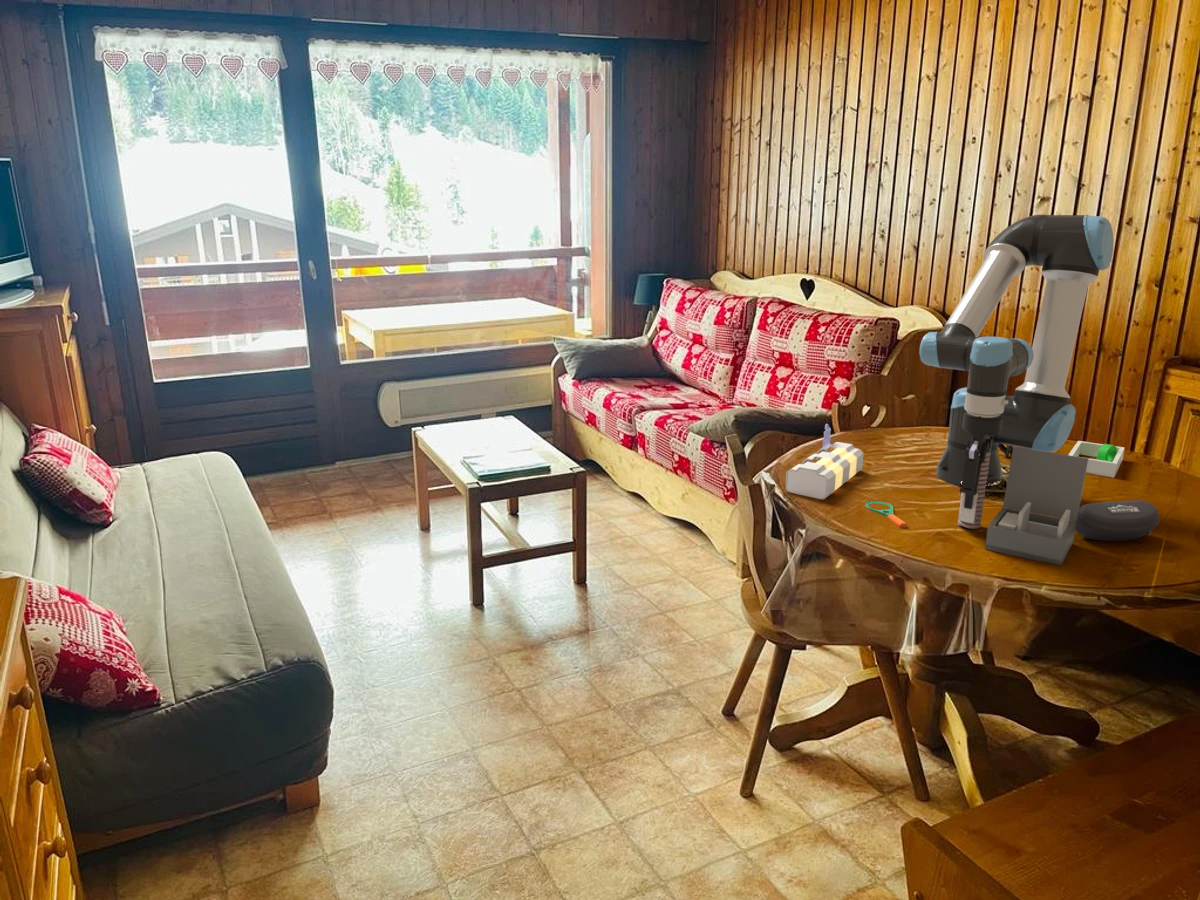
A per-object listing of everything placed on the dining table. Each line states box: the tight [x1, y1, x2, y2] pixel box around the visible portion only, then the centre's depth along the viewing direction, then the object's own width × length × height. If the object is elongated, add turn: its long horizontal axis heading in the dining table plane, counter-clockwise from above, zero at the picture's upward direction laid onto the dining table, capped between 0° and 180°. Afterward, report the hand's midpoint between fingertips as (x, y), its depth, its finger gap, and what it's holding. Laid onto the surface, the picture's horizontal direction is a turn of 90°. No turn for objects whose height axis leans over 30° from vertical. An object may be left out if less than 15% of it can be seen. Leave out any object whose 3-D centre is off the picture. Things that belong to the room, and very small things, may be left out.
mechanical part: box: [1096, 443, 1117, 462], centre depth 227 cm, size 12×6×8 cm, turn 121°
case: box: [984, 447, 1090, 566], centre depth 176 cm, size 14×16×18 cm
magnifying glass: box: [865, 500, 908, 529], centre depth 194 cm, size 15×6×2 cm, turn 8°
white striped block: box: [785, 423, 864, 500], centre depth 213 cm, size 25×10×13 cm, turn 146°
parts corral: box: [1068, 440, 1125, 479], centre depth 226 cm, size 11×17×4 cm, turn 144°
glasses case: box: [1075, 499, 1160, 542], centre depth 181 cm, size 18×10×8 cm, turn 99°
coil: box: [956, 452, 990, 530], centre depth 184 cm, size 5×5×18 cm
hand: (970, 517), depth 186 cm, fingers open, 5 cm apart
